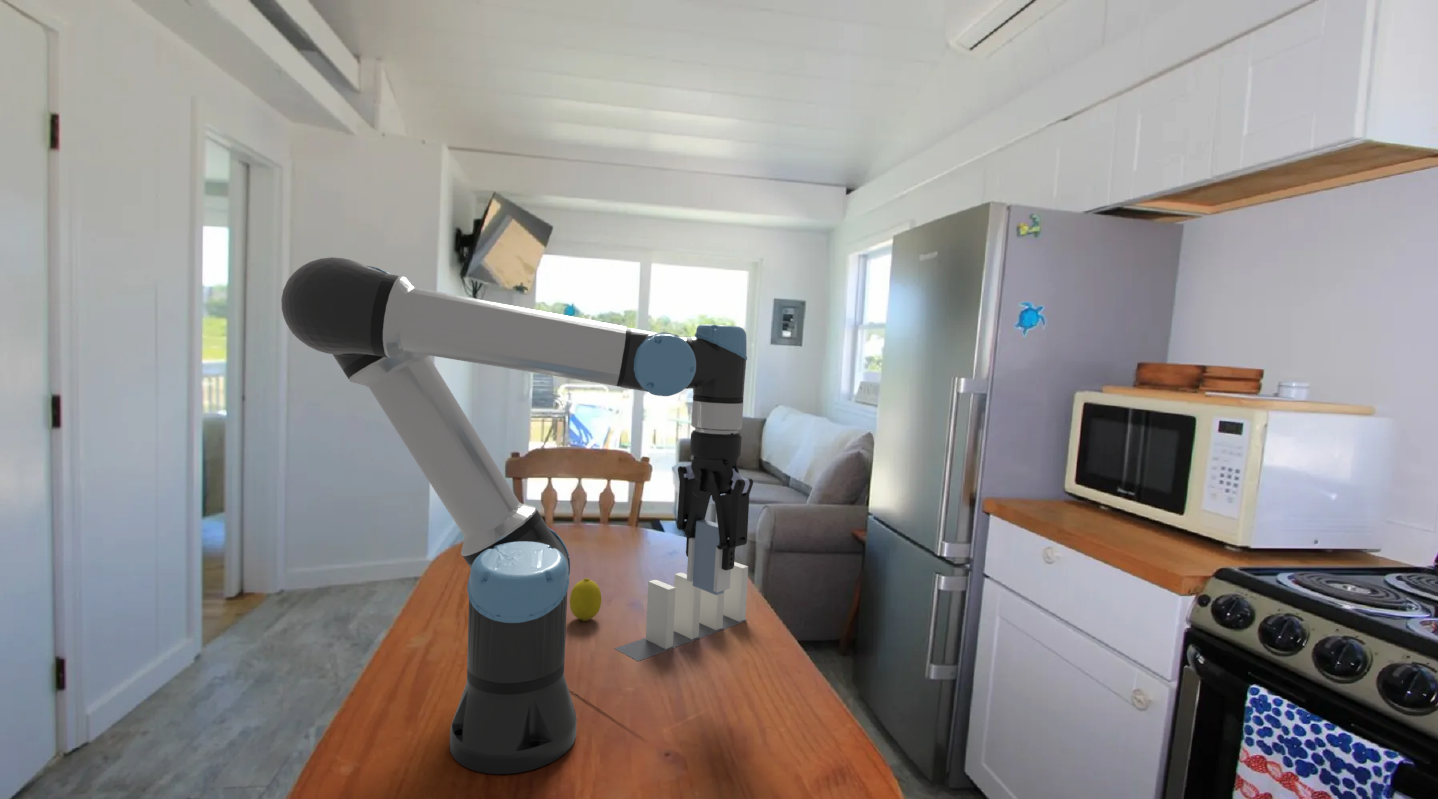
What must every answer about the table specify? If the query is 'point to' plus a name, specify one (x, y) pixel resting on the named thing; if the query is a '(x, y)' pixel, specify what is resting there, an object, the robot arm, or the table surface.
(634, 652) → the strip
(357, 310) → the robot arm
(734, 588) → the tile
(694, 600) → the tile
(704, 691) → the table surface
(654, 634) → the tile
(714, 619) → the tile
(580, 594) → the lemon
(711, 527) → the blue-grey tile
